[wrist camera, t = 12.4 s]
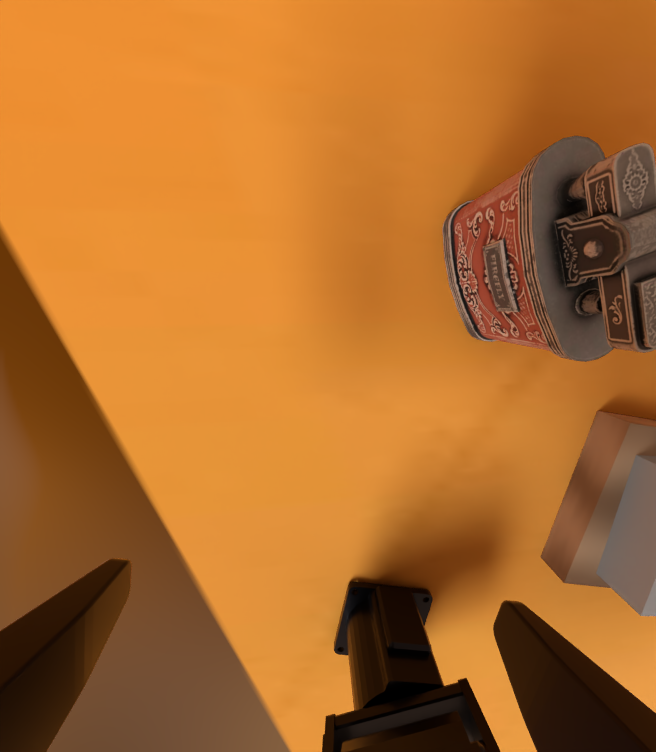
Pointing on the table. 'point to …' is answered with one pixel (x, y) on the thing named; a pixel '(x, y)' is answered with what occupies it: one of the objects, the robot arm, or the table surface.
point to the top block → (634, 541)
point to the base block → (596, 496)
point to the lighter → (561, 253)
